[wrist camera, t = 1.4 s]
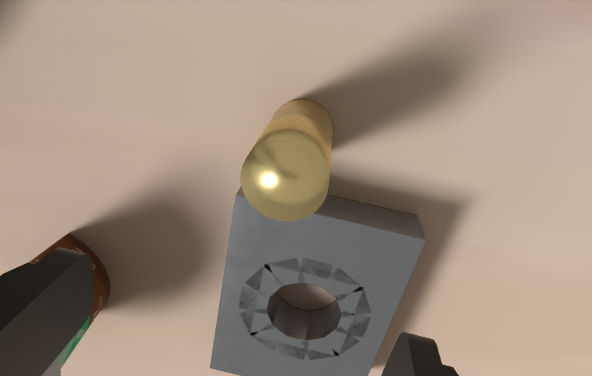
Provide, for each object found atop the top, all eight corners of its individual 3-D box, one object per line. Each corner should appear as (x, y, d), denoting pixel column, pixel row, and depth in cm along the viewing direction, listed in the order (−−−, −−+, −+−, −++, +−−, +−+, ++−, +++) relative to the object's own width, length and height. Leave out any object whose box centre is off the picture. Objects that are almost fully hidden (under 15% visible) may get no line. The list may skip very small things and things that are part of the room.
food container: (99, 346, 35) (15, 462, 26) (36, 316, 34) (-71, 424, 25) (144, 258, 30) (60, 364, 21) (72, 220, 29) (-47, 313, 20)
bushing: (276, 92, 23) (247, 130, 16) (339, 107, 23) (338, 151, 16) (266, 152, 25) (235, 210, 18) (324, 165, 25) (317, 229, 18)
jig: (246, 175, 26) (235, 195, 23) (417, 215, 26) (426, 240, 23) (220, 338, 33) (209, 368, 30) (354, 370, 33) (355, 403, 30)
